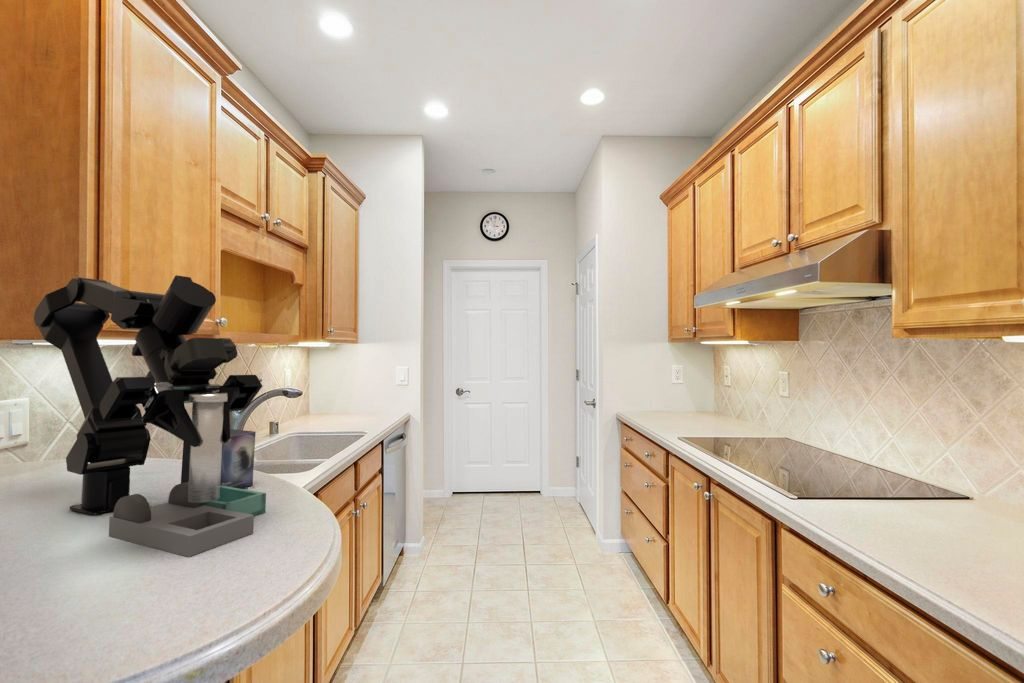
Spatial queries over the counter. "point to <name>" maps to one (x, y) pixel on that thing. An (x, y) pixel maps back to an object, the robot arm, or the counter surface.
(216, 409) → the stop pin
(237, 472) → the small box
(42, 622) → the counter surface
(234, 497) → the tray
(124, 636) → the counter surface
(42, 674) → the counter surface
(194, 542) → the socket plate with bumps
